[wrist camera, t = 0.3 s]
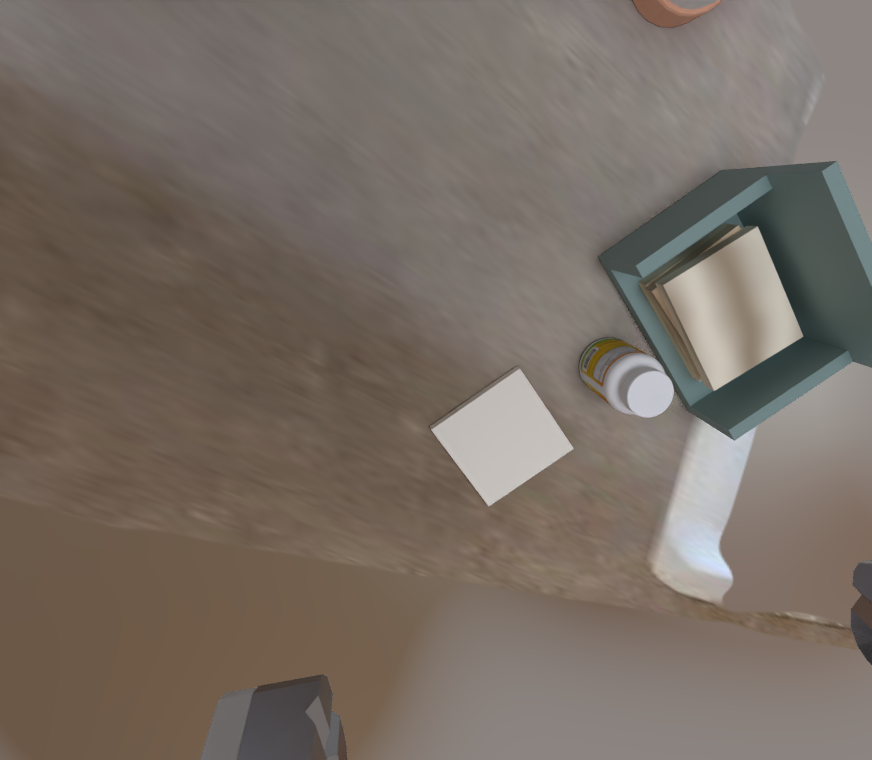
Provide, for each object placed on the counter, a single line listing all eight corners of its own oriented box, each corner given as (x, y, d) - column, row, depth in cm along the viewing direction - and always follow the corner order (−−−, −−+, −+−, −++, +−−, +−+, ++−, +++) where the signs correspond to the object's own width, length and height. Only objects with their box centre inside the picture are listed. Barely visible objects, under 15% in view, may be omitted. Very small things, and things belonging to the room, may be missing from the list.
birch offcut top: (705, 386, 56) (714, 391, 55) (654, 282, 53) (663, 285, 51) (792, 332, 56) (803, 336, 54) (746, 225, 52) (757, 226, 51)
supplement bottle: (636, 382, 60) (687, 415, 51) (583, 398, 60) (625, 434, 51) (626, 329, 59) (677, 354, 49) (572, 346, 58) (613, 373, 49)
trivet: (486, 501, 62) (488, 506, 61) (429, 426, 59) (431, 429, 58) (570, 444, 61) (573, 448, 60) (517, 365, 58) (519, 368, 57)
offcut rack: (687, 410, 62) (779, 468, 48) (597, 256, 56) (672, 274, 43) (801, 334, 61) (926, 372, 48) (721, 170, 55) (837, 161, 42)
